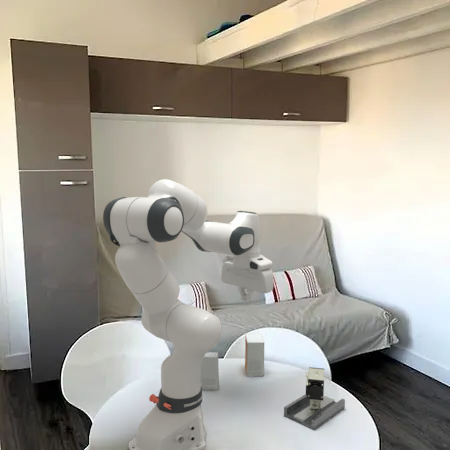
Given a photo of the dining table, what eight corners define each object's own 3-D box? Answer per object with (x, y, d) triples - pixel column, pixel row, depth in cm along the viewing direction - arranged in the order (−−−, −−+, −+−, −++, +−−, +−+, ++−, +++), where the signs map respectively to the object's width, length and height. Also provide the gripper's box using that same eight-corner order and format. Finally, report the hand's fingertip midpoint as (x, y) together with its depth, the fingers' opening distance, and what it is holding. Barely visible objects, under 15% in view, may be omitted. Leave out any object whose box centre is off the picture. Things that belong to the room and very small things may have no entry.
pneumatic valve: (323, 398, 164) (324, 363, 162) (322, 417, 152) (324, 380, 150) (305, 396, 165) (306, 361, 163) (303, 415, 154) (305, 378, 152)
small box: (244, 366, 190) (245, 333, 188) (261, 366, 190) (262, 333, 188) (246, 376, 182) (247, 342, 180) (264, 376, 182) (264, 342, 180)
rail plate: (314, 430, 149) (314, 420, 148) (283, 416, 156) (284, 407, 156) (344, 408, 161) (345, 399, 160) (315, 396, 168) (315, 388, 168)
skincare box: (218, 384, 176) (219, 351, 174) (218, 390, 172) (218, 356, 170) (201, 384, 176) (201, 351, 175) (200, 390, 172) (199, 356, 170)
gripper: (217, 256, 171) (217, 295, 173) (264, 266, 157) (263, 309, 160) (229, 253, 176) (229, 292, 178) (276, 263, 162) (275, 305, 164)
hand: (246, 300), depth 169 cm, fingers closed
